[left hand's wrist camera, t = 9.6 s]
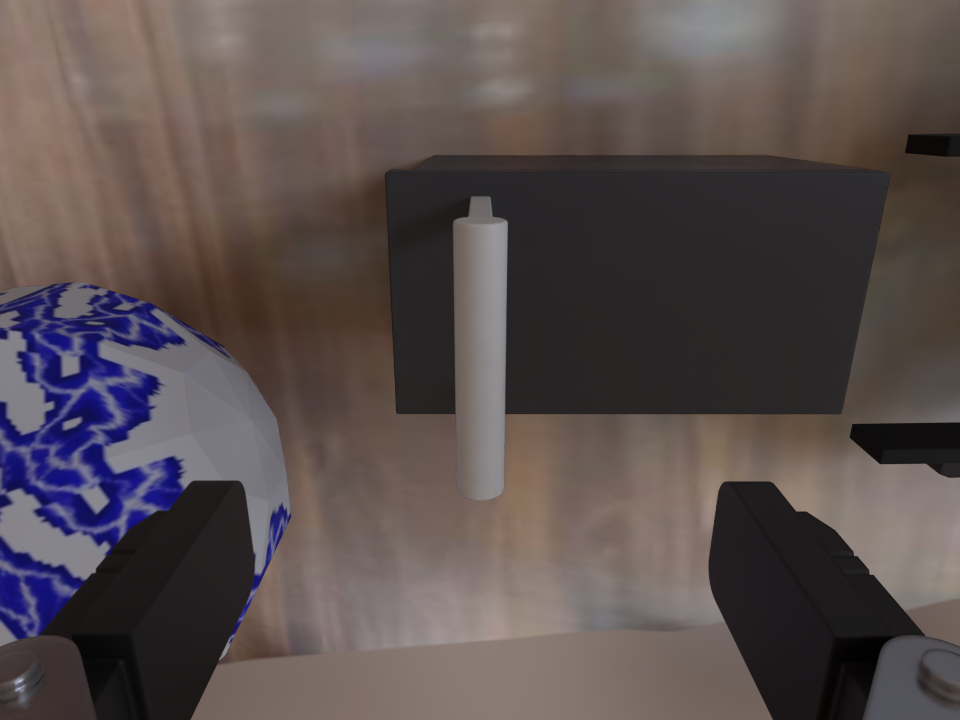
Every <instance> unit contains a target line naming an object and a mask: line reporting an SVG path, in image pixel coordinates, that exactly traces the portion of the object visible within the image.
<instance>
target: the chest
mask: <svg viewBox="0 0 960 720" xmlns="http://www.w3.org/2000/svg"><path fill="white" fill-rule="evenodd" d="M416 170H870V169H863V168H856V167H849V166H842V165H834V164H827V163H820V162H812V161H805V160H798V159H791V158H783V157H775V156H432V157H431V158H429V159H428V160H427V161H426V162H425V163H423V164H422V165H421V166H420V167H419V168H417V169H416Z"/></svg>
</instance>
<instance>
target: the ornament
mask: <svg viewBox="0 0 960 720" xmlns="http://www.w3.org/2000/svg"><path fill="white" fill-rule="evenodd" d="M195 480H238V481H240V482H241V483H242V484H243V486H244V489H245V493H246V500H247V507H248V514H249V521H250V528H251V536H252V543H253V550H254V558H255V573H254V581H253V586H252V590H251V594H250V596H249V599H248V601H247V603H246V605H245V607H244V609H243V611H242V613H241V615H240V618H239V620H238V622H237V624H236V626H235V628H234V630H233V632H232V634H231V636H230V638H229V640H228V643H227V645H226V647H225V649H224V651H223V653H222V655H221V657H220V659H221V658H222V657H224V656H225V654H226V652H227V650H228V648H229V646H230V644H231V642H232V640H233V638H234V636H235V634H236V631H237V629H238V627H239V625H240V623H241V621H242V619H243V617H244V615H245V613H246V611H247V609H248V607H249V605H250V602H251V600H252V598H253V596H254V594H255V592H256V590H257V588H258V586H259V584H260V582H261V580H262V577H263V575H264V573H265V571H266V569H267V567H268V565H269V563H270V560H271V558H272V556H273V554H274V552H275V550H276V548H277V546H278V543H279V541H280V539H281V537H282V535H283V533H284V531H285V529H286V526H287V524H288V522H289V520H290V518H291V512H290V502H289V493H288V483H287V474H286V467H285V461H284V456H283V450H282V445H281V440H280V434H279V429H278V424H277V419H276V417H275V416H274V414H273V412H272V411H271V409H270V408H269V406H268V404H267V403H266V401H265V400H264V398H263V396H262V395H261V393H260V392H259V390H258V388H257V387H256V385H255V384H254V382H253V381H252V379H251V377H250V376H249V374H248V373H247V371H246V370H245V369H244V368H243V367H242V366H241V365H240V364H239V363H238V362H237V360H236V359H235V358H234V357H233V356H232V355H231V354H230V353H229V352H228V351H227V350H226V349H225V347H224V346H222V345H221V344H219V343H217V342H215V341H214V340H212V339H210V338H209V337H207V336H205V335H204V334H202V333H200V332H198V331H197V330H195V329H193V328H192V327H190V326H188V325H187V324H185V323H183V322H182V321H180V320H178V319H176V318H175V317H173V316H171V315H170V314H168V313H166V312H165V311H163V310H161V309H159V308H158V307H156V306H154V305H153V304H151V303H148V302H145V301H142V300H139V299H135V298H132V297H129V296H126V295H123V294H119V293H116V292H113V291H110V290H107V289H104V288H100V287H97V286H94V285H91V284H88V283H84V282H74V283H62V284H51V285H40V286H28V287H17V288H11V289H9V290H6V291H3V292H1V293H0V646H3V645H5V644H7V643H10V642H13V641H17V640H20V639H24V638H28V637H34V636H39V635H40V633H41V632H42V631H43V630H44V629H45V628H46V626H47V625H48V624H49V623H50V622H51V621H52V619H53V618H54V617H55V616H56V615H57V613H58V612H59V611H60V610H61V609H62V608H63V606H64V605H65V604H66V603H67V602H68V600H69V599H70V598H71V597H72V596H73V595H74V593H75V592H76V591H77V590H78V589H79V588H80V586H81V585H82V584H83V583H84V582H85V580H86V579H87V578H88V577H89V576H90V575H91V573H95V572H96V568H97V566H98V565H99V564H100V563H101V562H102V560H103V559H104V558H105V557H106V556H107V555H111V550H112V549H113V547H114V546H115V545H116V544H117V543H118V542H119V540H120V539H121V538H122V537H123V536H124V535H125V533H126V532H127V531H128V530H129V529H130V528H131V527H133V526H134V525H136V524H137V523H139V522H141V521H142V520H144V519H145V518H147V517H148V516H150V515H151V514H153V513H154V512H156V511H157V510H169V509H170V507H171V506H172V505H173V503H174V502H175V501H176V500H177V498H178V497H179V496H180V495H181V493H182V492H183V491H184V490H185V488H186V487H187V486H188V485H189V484H190V482H192V481H195ZM220 659H219V660H220Z"/></svg>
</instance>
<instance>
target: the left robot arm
mask: <svg viewBox="0 0 960 720" xmlns="http://www.w3.org/2000/svg"><path fill="white" fill-rule="evenodd" d="M254 573H255V558H254V550H253V543H252V536H251V528H250V521H249V514H248V507H247V500H246V493H245V489H244V486H243V484H242V483H241V482H240V481H238V480H195V481H192V482H190V484H189V485H188V486H187V487H186V488H185V490H184V491H183V492H182V493H181V495H180V496H179V497H178V498H177V500H176V501H175V502H174V503H173V505H172V506H171V507H170V509H169V510H157V511H156V512H154V513H153V514H151V515H150V516H148V517H147V518H145V519H144V520H142V521H141V522H139V523H137V524H136V525H134V526H133V527H131V528H130V529H129V530H128V531H127V532H126V533H125V535H124V536H123V537H122V538H121V539H120V540H119V542H118V543H117V544H116V545H115V546H114V547H113V549H112V550H111V555H107V556H106V557H105V558H104V559H103V560H102V562H101V563H100V564H99V565H98V566H97V568H96V572H95V573H91V575H90V576H89V577H88V578H87V579H86V580H85V582H84V583H83V584H82V585H81V586H80V588H79V589H78V590H77V591H76V592H75V593H74V595H73V596H72V597H71V598H70V599H69V600H68V602H67V603H66V604H65V605H64V606H63V608H62V609H61V610H60V611H59V612H58V613H57V615H56V616H55V617H54V618H53V619H52V621H51V622H50V623H49V624H48V625H47V626H46V628H45V629H44V630H43V631H42V632H41V633H40V635H39V636H34V637H28V638H24V639H20V640H17V641H13V642H10V643H7V644H5V645H3V646H0V720H191V718H192V716H193V713H194V711H195V709H196V707H197V705H198V703H199V701H200V699H201V697H202V695H203V693H204V691H205V688H206V686H207V684H208V682H209V680H210V678H211V676H212V674H213V672H214V670H215V668H216V665H217V663H218V661H219V659H220V657H221V655H222V653H223V651H224V649H225V647H226V645H227V643H228V640H229V638H230V636H231V634H232V632H233V630H234V628H235V626H236V624H237V622H238V620H239V618H240V615H241V613H242V611H243V609H244V607H245V605H246V603H247V601H248V599H249V596H250V594H251V590H252V586H253V581H254ZM709 580H710V586H711V590H712V593H713V596H714V599H715V601H716V603H717V605H718V607H719V609H720V611H721V613H722V616H723V618H724V620H725V622H726V624H727V626H728V628H729V630H730V632H731V634H732V636H733V638H734V640H735V642H736V644H737V646H738V649H739V651H740V653H741V655H742V657H743V659H744V661H745V663H746V665H747V667H748V669H749V671H750V673H751V675H752V677H753V679H754V681H755V684H756V686H757V688H758V690H759V692H760V694H761V696H762V698H763V700H764V702H765V704H766V706H767V708H768V710H769V712H770V714H771V716H772V719H773V720H960V646H957V645H955V644H953V643H949V642H946V641H943V640H940V639H936V638H932V637H926V636H925V635H924V633H923V632H922V631H921V630H920V629H919V628H918V626H917V625H916V624H915V623H914V622H913V621H912V620H911V618H910V617H909V616H908V615H907V614H906V612H905V611H904V610H903V609H902V608H901V607H900V605H899V604H898V603H897V602H896V601H895V600H894V598H893V597H892V596H891V595H890V594H889V593H888V591H887V590H886V589H885V588H884V587H883V586H882V584H881V583H880V582H879V581H878V580H877V579H876V577H875V576H874V575H870V574H869V569H868V568H867V567H866V566H865V565H864V563H863V562H862V561H861V560H860V559H859V558H858V556H854V552H853V551H852V549H851V548H850V547H849V546H848V545H847V544H846V542H845V541H844V540H843V539H842V538H841V537H840V535H839V534H838V533H837V532H836V531H835V530H834V529H832V528H831V527H829V526H828V525H826V524H825V523H823V522H822V521H820V520H819V519H817V518H815V517H814V516H812V515H811V514H809V513H808V512H796V511H795V509H794V508H793V507H792V506H791V504H790V503H789V502H788V501H787V499H786V498H785V497H784V496H783V494H782V493H781V492H780V491H779V489H778V488H777V487H776V486H775V485H774V484H773V483H772V482H724V483H722V485H721V487H720V489H719V492H718V498H717V505H716V512H715V519H714V526H713V533H712V540H711V548H710V555H709Z"/></svg>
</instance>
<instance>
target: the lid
mask: <svg viewBox="0 0 960 720" xmlns="http://www.w3.org/2000/svg"><path fill="white" fill-rule="evenodd" d="M889 179H890V173H889V172H884V171H877V170H389V171H388V172H386V173H385V184H386V205H387V227H388V248H389V269H390V290H391V311H392V333H393V354H394V375H395V396H396V412H397V414H456V476H457V490H458V492H459V494H460V495H462V496H463V497H465V498H467V499H471V500H477V501H483V500H490V499H493V498H496V497H497V496H499V495H500V494H501V493H502V491H503V489H504V446H505V414H841V413H842V409H843V404H844V399H845V394H846V389H847V384H848V380H849V375H850V370H851V365H852V360H853V355H854V350H855V345H856V340H857V336H858V331H859V326H860V321H861V316H862V311H863V306H864V301H865V296H866V292H867V287H868V282H869V277H870V272H871V267H872V262H873V257H874V253H875V248H876V243H877V238H878V233H879V228H880V223H881V218H882V213H883V209H884V204H885V199H886V194H887V189H888V184H889Z"/></svg>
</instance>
